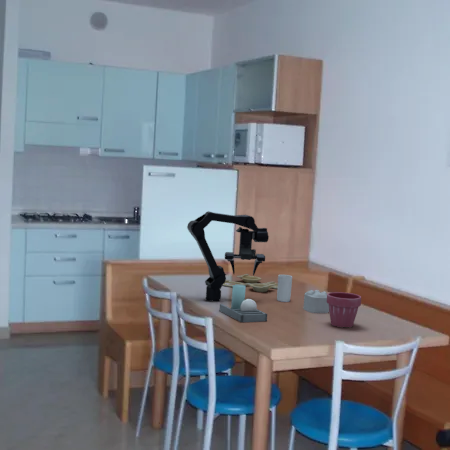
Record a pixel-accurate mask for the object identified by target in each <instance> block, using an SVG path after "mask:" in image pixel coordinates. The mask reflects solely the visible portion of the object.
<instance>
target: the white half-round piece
mask: <svg viewBox="0 0 450 450" xmlns="http://www.w3.org/2000/svg"><path fill="white" fill-rule="evenodd" d="M257 307H258V306H257V303H256V301H255V300H253V299H251V298H246V299H245V300H244V301H243V302H242V303H241V306H240V309H241V311H248V310H256V309H258V308H257Z"/></svg>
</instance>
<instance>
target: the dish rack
mask: <svg viewBox="0 0 450 450" xmlns="http://www.w3.org/2000/svg"><path fill="white" fill-rule="evenodd" d="M219 312H221V313H222V314H225V316H228V317H230V318H232V319H234V320H236V321H237V322H240V323H257V322H267V321H268V313H266V312H263V311H262V310H260V309H258V308H256V310H248V311H241V309H231V307H230V306H229V307H228V306H227V305H225V304H223V303H219Z"/></svg>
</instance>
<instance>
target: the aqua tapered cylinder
mask: <svg viewBox="0 0 450 450" xmlns="http://www.w3.org/2000/svg"><path fill="white" fill-rule="evenodd" d="M246 286H247V285H239V284H235V285H233V287H232V291H231V292H232V293H231V304H230V308H231V309H240V306H241V303H242V302H243V301H244V300H246V299H245V298H246V290H247V289H246Z"/></svg>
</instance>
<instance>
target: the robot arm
mask: <svg viewBox="0 0 450 450" xmlns="http://www.w3.org/2000/svg"><path fill="white" fill-rule="evenodd" d="M212 221H213V222H221V223H227V224H234V225H238V226H239V227H238V228H237V229H235V231H236V233H239V245H238V249H239V250H238V254H236V253H234V252H231V251H226V252H224V260H227V262H229V263H230V265H231V266H230V267H231V269H232V274H233V275H235V273H236V272H235V260H234V259H240V260H242V261H243V260H247V261H251V260H254V264H253V271H252V276H255V273H256V271H257V270H258V269H257V268H258V267H259V265H260V264H262V263H263V262H266V256H265V254H264V253H257V252H256V250H257V249H255V248H253V249H252V247H253V246H252V245H253V241H254V242H255V243H268V241H269V237H270V236H269V232H268V228H267V227H258V226H257V224H256V221H255V218H254V217H253V216H251V215H249V214H236V215H232V214H224V213H218V212H212V211H209V210H208V211H206V212H205V213H203V214H202V215H200V216H198V217H197V218H195V219H194V220H190V221H189V222H188V224H187V226H186V229H187V230H188V233H190V234H191V236H192V237H193V239H194V240H195V241H196V244H197V245H198V248H199V249H200V252H201V254H202V256H203V259H204V260H205V263H206V266H207V269H208V275H209V277H208V278H207V279H205V280H204V284H205V285H206V287H205V288H206V289H205V291H206V292H205V299H206V300H205V302H216V303H217V302H218V303H219V302H221V300H222V290H221V289H222V286H223V284H224V283H225V281H226V280H227V274H226V272H225V270H224V267H223V266H221V265H218V264H217V262H216V259H215V257H214V256H213V255H214V254H213V252H212V250H211V249H210V245H209V244H208V241H207V240H206V234H205V230H204V229H205V228H207V226H208V225H209V224H210V223H211V222H212Z"/></svg>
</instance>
